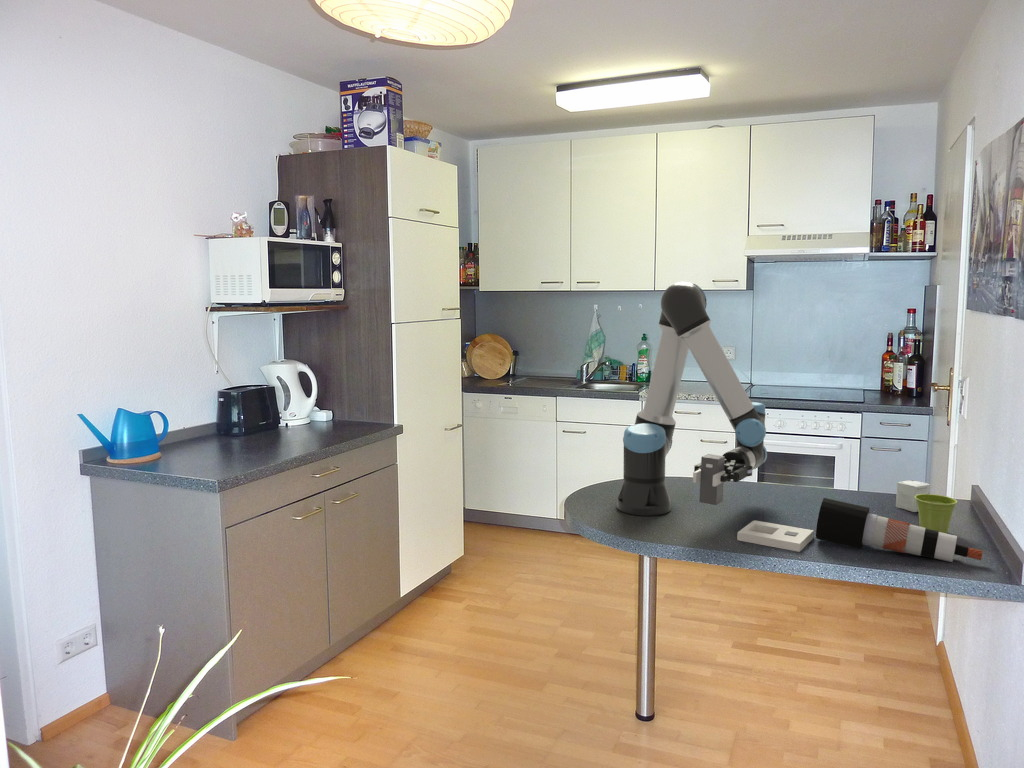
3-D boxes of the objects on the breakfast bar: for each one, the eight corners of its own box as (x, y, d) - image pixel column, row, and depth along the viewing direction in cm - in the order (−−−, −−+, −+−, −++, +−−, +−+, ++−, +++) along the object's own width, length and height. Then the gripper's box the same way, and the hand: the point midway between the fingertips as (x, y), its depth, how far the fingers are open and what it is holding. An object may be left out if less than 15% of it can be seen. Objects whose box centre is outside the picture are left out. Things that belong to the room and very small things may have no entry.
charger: (699, 502, 198) (701, 457, 196) (706, 498, 201) (708, 453, 200) (715, 505, 195) (717, 459, 193) (722, 501, 199) (724, 456, 197)
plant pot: (936, 525, 199) (938, 492, 197) (964, 536, 189) (966, 502, 188) (904, 527, 197) (906, 494, 196) (930, 539, 188) (932, 504, 187)
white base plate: (737, 540, 189) (737, 531, 188) (753, 527, 198) (753, 519, 198) (799, 551, 180) (799, 542, 180) (813, 538, 189) (813, 529, 189)
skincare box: (914, 512, 210) (915, 486, 209) (895, 507, 215) (896, 481, 214) (929, 509, 212) (930, 484, 211) (910, 504, 218) (911, 479, 217)
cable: (976, 587, 169) (984, 555, 164) (814, 547, 186) (817, 516, 180) (979, 555, 176) (987, 523, 170) (823, 519, 193) (826, 489, 187)
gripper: (767, 480, 207) (737, 499, 188) (706, 471, 217) (671, 488, 199) (769, 453, 206) (738, 470, 187) (707, 445, 216) (672, 459, 198)
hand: (704, 479), depth 193 cm, fingers closed on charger, 4 cm apart
